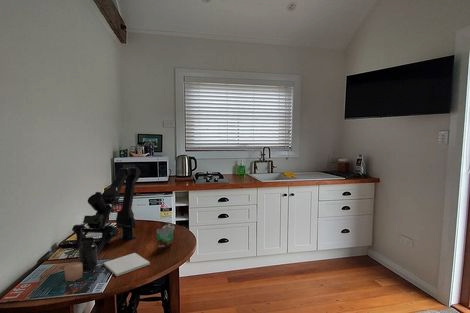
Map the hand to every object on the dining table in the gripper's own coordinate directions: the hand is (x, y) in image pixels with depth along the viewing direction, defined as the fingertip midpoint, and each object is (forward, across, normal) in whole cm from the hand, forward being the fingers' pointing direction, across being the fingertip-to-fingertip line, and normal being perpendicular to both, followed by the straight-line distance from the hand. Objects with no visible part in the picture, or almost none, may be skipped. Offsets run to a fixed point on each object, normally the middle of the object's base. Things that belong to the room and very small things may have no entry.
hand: (87, 249), depth 113 cm
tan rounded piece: (+12, 0, -1) cm, 12 cm away
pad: (+3, +15, +8) cm, 17 cm away
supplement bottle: (+5, 0, +6) cm, 8 cm away
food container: (-13, +26, +24) cm, 37 cm away
